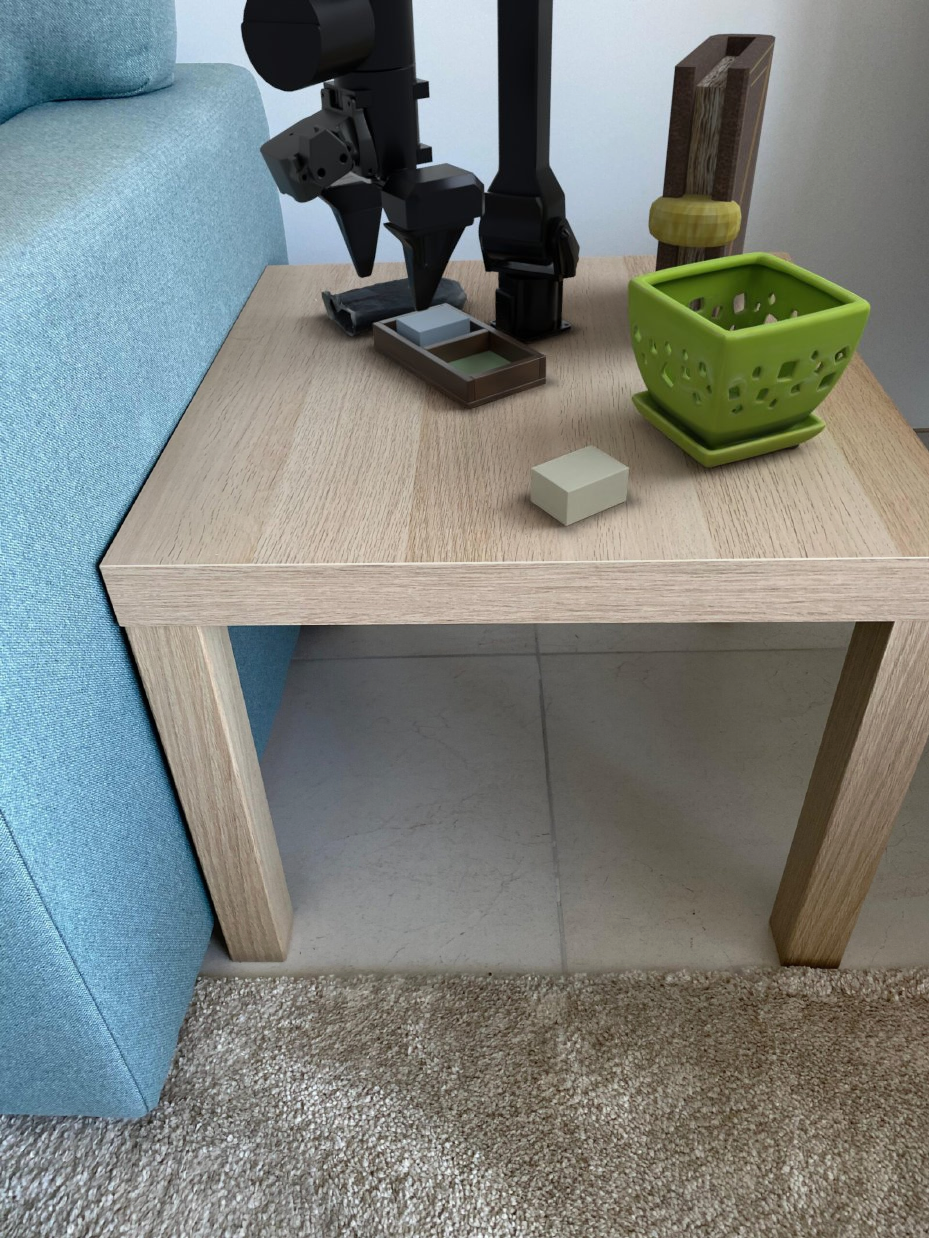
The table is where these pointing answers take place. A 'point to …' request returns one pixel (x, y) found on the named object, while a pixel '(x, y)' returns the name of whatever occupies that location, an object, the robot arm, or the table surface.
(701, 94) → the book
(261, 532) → the table surface
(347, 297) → the electronic device
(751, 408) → the flower pot
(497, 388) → the shallow rectangular tray
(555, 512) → the cream rectangular block
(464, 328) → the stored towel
